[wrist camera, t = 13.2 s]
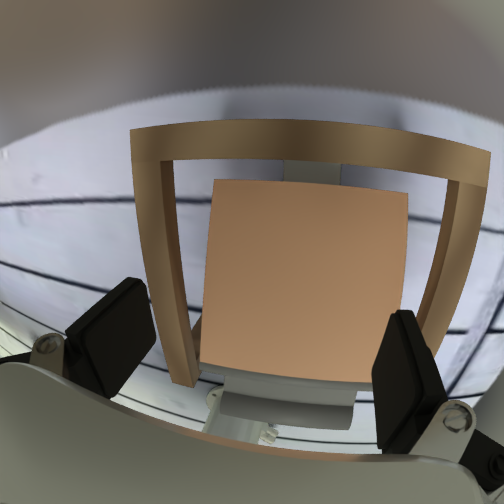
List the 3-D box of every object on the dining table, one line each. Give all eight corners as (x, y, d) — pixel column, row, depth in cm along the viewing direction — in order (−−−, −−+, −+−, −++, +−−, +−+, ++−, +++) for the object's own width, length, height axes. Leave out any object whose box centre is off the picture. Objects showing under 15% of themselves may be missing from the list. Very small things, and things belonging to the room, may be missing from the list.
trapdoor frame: (407, 140, 24) (490, 152, 10) (381, 306, 32) (404, 410, 18) (220, 128, 28) (129, 129, 14) (225, 291, 36) (172, 382, 22)
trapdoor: (401, 198, 19) (411, 191, 17) (367, 420, 19) (371, 435, 17) (221, 184, 22) (211, 176, 19) (205, 400, 22) (195, 413, 19)
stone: (334, 199, 29) (337, 152, 27) (337, 211, 24) (341, 155, 22) (288, 195, 30) (289, 149, 28) (282, 207, 25) (283, 151, 23)
